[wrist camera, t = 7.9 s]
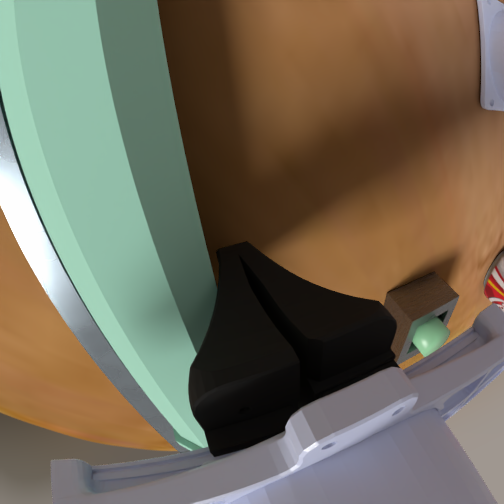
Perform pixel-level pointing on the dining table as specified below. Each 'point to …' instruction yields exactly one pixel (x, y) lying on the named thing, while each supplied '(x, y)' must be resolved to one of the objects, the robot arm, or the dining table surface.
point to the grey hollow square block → (418, 310)
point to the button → (430, 336)
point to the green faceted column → (113, 181)
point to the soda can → (495, 282)
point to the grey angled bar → (64, 281)
